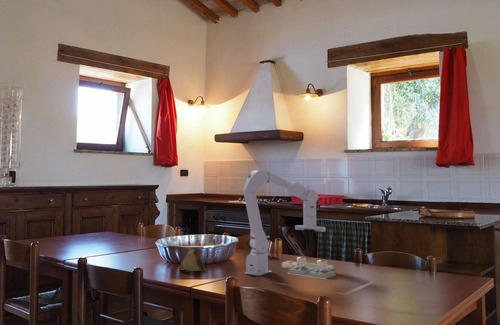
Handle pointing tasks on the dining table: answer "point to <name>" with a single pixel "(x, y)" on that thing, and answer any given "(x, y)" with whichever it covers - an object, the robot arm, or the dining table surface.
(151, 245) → the dining table surface
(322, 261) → the cylinder
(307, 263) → the tray
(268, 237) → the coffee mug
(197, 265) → the rock
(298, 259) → the cylinder
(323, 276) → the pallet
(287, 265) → the button housing
